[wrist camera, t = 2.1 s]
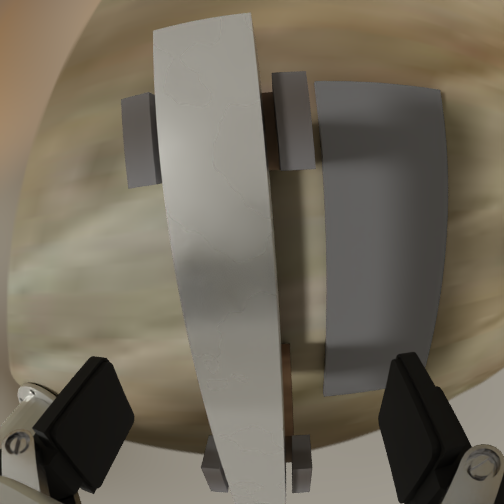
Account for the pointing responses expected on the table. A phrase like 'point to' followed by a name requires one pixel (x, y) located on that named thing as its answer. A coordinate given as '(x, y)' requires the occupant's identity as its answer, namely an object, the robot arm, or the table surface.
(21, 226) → the table surface
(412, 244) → the mat
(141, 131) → the rack
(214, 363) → the rail
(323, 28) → the table surface
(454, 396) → the table surface
